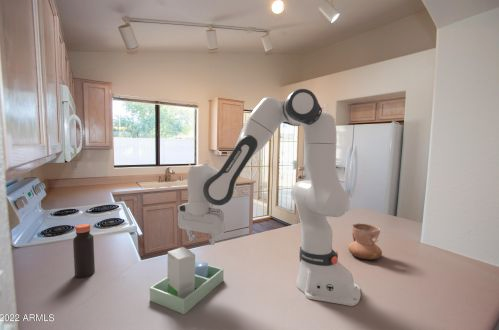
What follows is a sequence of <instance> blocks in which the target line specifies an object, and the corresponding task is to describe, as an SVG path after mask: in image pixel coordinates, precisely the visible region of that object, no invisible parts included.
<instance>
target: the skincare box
mask: <svg viewBox="0 0 499 330" xmlns="http://www.w3.org/2000/svg"><path fill="white" fill-rule="evenodd" d="M195 261H196V254H195V253H194V252H192V251H191V250H190V249H187V248H186V247H184V246H181V247H178V248H175V249H172V250H169V251H167V277H168V280H167V291H166V292H167V293H169V294H172V295H175V296H177V297H180V298H183V299H184V298H186V297H187V296H188V295H189V294H191V293H192V292H193V291H194V290H196V289H195Z"/></svg>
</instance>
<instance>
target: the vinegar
mask: <svg viewBox="0 0 499 330" xmlns="http://www.w3.org/2000/svg"><path fill="white" fill-rule="evenodd" d="M90 232H91V224H90V223H82V224H77V225H75V234H76V236H75V237H74V238H73V240H72V243H73V262H74V263H73V265H74V267H73V268H74V277H75V278H77V279H79V278H80V279H82V278H87V277H89V276H92V275H93V274H94V273H95V271H96V270H95V269H96V268H95V266H96V265H95V245H94V244H95V243H94V235H93V234H91V233H90Z"/></svg>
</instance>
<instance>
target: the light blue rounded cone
mask: <svg viewBox="0 0 499 330" xmlns="http://www.w3.org/2000/svg"><path fill="white" fill-rule="evenodd" d="M196 262H197V263H195V275H199V276H202V277H205V278H208V265H209V263H208V262H206V261H196Z"/></svg>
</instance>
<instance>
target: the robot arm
mask: <svg viewBox="0 0 499 330" xmlns="http://www.w3.org/2000/svg"><path fill="white" fill-rule="evenodd" d="M251 111H252V112H251V113H250V114H249V116H248V117H247V119H246V120H245V122H244V124H243V126H242V128H241V130H240V133H239V136H238V138H237V141H236V144H235V146H234V148H233V150H232V151H231V153H230V155H229V156H228V158H227V159H226V160H225V162H224V164H223V165H222V166H221V168H220V169H217V168H215V167H214V166H211V165H210V164H209V163H201V164H195V165H193V166H191V167H190V168H189V169H188V171H187V177H186V178H187V181H186V182H187V191H188V198H187V202H185V203H182V204H179V205H177V210H178V213H177V226H178V227H179V229H182V230H185V231H186V234H187V235H188V240H189V241H190V242H194V241H196V235H195V234H193V231H194V232H199V233H203V234H205V233H206V234H208V235H210V238H209V240H208V245H210V246H213V245H215V244H216V242H215V240H216V238H217V237H218V236H220V235H223V234H224V233H225V231H226V221H225V215H224V212H223V210H221V209H220V208H214V207H213V206H224V205H225V204H226V205H227V203H229V202H230V201H231V199H232V197H233V194H234V192H235V190H236V188H237V179H238V178H239V177H240V175H241V173H242V172H243V170H244V169H245V167H246V166H247V164H248V162H249V161H250V160H251V159H252V158H253V157H254V156H255V155H256V154H257V153H258V152H259V151H260V150H262V149H263V148H264V147H265V145H266V144H268V142H269V141H270V140H271V138H272V137H273V136H274V134H275V132H276V131H277V129H278V128H279V126H280V125H281V124H284V125H285V124H286V125H288V126H293V127H299V126H302V128H303V131H304V135H305V136H304V147H303V148H304V149H303V151H304V152H303V165H304V168H305V169H306V170H307V172H308V175H309V179H305V180H300V181H297V182H295V183H294V184H293V186H292V188H291V192H290V193H291V194H290V195H291V198H292V200H293V202H294V204H295V206H296V209H297V212H298V217H299V222H300V229H301V233H300V234H301V235H300V237H301V241H300V242H301V245H300V247H299V262H300V263H299V270H298V275H297V278H296V281H295V285H296V287H297V288H298V289H299V290H300V291H301V292H302V293H303V294H304V295H305V297H306V298H307V299H309V300H315V301H320V302H321V301H322V302H326V303H333V304H339V305H344V306H349V307H353V306H356V305H357V304H359V302H360V300H361V296H362V295H361V288H360V286H359V285H358V284H357V282H355V281H354V277H353V275H352V272H351V271H350V270H349V269H348V268H347V267H346V266H344V265H343V264H342V263H341V262H340V261H339V254H338V251H334V249H333V234H334V233H333V229H332V228H333V227H332V225H330V222H329V221H328V218H327V217H329V218H339V217H343V216H344V215H345V214H346V212H347V211H348V210H349V207H350V197H349V195H348V193H347V192H346V190H345V189H344V188H343V186H342V183H341V181H340V179H339V174H338V171H337V139H338V138H337V124H336V119H335V117H334V116H333V115H331V114H330V113H327V112H323V109H322V107H321V105H320V103H319V101H318V98H317V96H316V95H315V93H313V92H312V91H311V90H309V89H307V88H299V89H296V90H294V91H292V92H291V93H289V94H288V96H287V98H286V99H285V100H279V99H277V98H276V97H272V96H267V97H264V98H263V99H261V101H260V102H258V104H257V105H256V106H255V107H254V108H253V110H251Z"/></svg>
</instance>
